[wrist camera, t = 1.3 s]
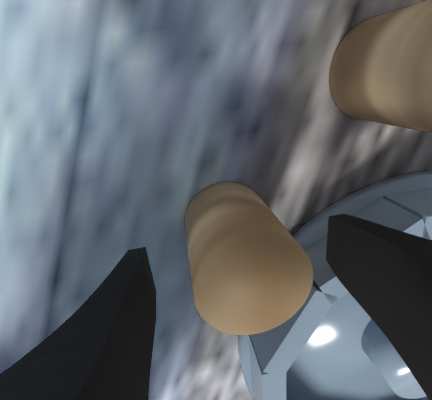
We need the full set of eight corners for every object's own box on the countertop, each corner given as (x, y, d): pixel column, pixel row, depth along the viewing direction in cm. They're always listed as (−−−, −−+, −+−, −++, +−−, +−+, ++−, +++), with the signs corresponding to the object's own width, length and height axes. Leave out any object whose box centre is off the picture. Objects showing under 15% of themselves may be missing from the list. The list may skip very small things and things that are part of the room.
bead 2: (325, 123, 13) (415, 147, 8) (332, 20, 11) (448, -24, 6) (406, 113, 13) (534, 130, 8) (423, 12, 11) (593, -35, 7)
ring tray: (246, 444, 21) (261, 508, 18) (223, 202, 13) (242, 239, 10) (479, 383, 23) (528, 430, 20) (577, 146, 15) (685, 162, 12)
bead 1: (190, 261, 14) (201, 345, 10) (178, 188, 13) (185, 247, 8) (265, 248, 15) (311, 321, 10) (263, 175, 13) (316, 224, 8)
